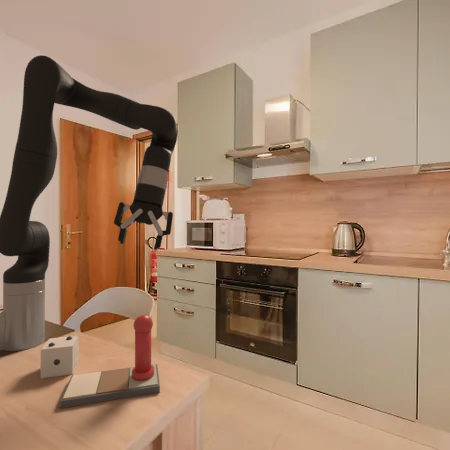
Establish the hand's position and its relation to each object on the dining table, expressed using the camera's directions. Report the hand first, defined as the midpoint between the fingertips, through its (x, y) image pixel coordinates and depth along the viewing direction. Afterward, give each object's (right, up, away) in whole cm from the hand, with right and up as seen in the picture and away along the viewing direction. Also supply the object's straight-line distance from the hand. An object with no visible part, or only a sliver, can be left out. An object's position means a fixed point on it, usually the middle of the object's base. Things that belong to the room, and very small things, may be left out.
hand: (139, 246), depth 73 cm
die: (-14, -26, -10) cm, 32 cm away
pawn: (+6, -25, -15) cm, 30 cm away
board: (0, -26, -17) cm, 31 cm away
